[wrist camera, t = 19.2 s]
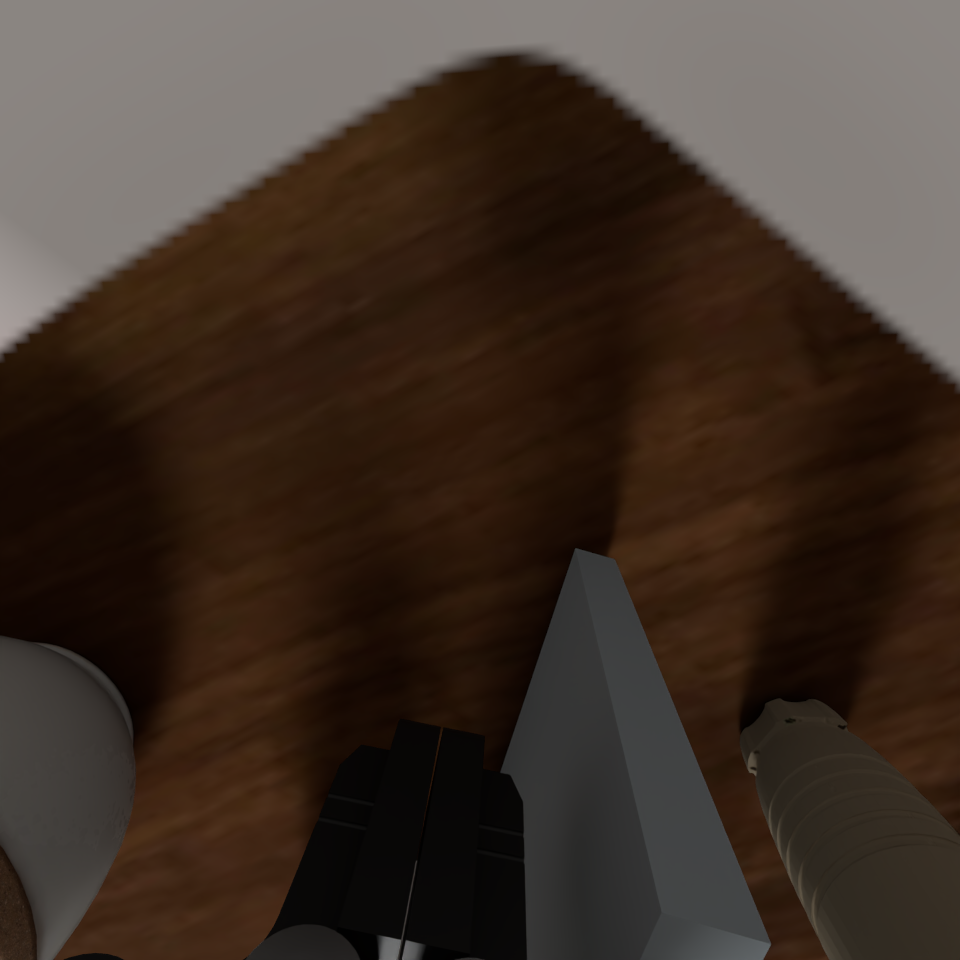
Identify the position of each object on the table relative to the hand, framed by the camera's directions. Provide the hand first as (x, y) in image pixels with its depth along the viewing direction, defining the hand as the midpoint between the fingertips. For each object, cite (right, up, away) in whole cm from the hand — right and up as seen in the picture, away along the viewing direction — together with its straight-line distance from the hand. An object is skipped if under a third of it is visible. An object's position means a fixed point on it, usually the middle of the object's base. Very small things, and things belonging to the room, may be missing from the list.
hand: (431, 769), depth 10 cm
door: (+2, -4, +9) cm, 10 cm away
